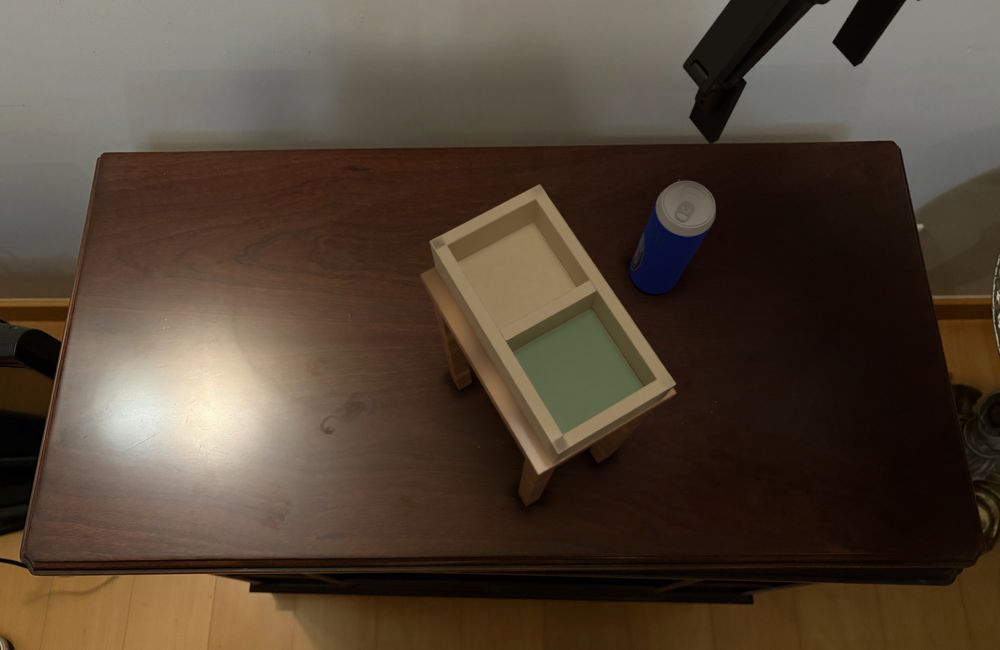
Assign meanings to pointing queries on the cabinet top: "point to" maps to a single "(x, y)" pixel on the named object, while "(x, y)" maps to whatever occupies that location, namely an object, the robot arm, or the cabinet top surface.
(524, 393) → the tray
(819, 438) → the cabinet top surface
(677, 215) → the beverage can
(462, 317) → the shelf
